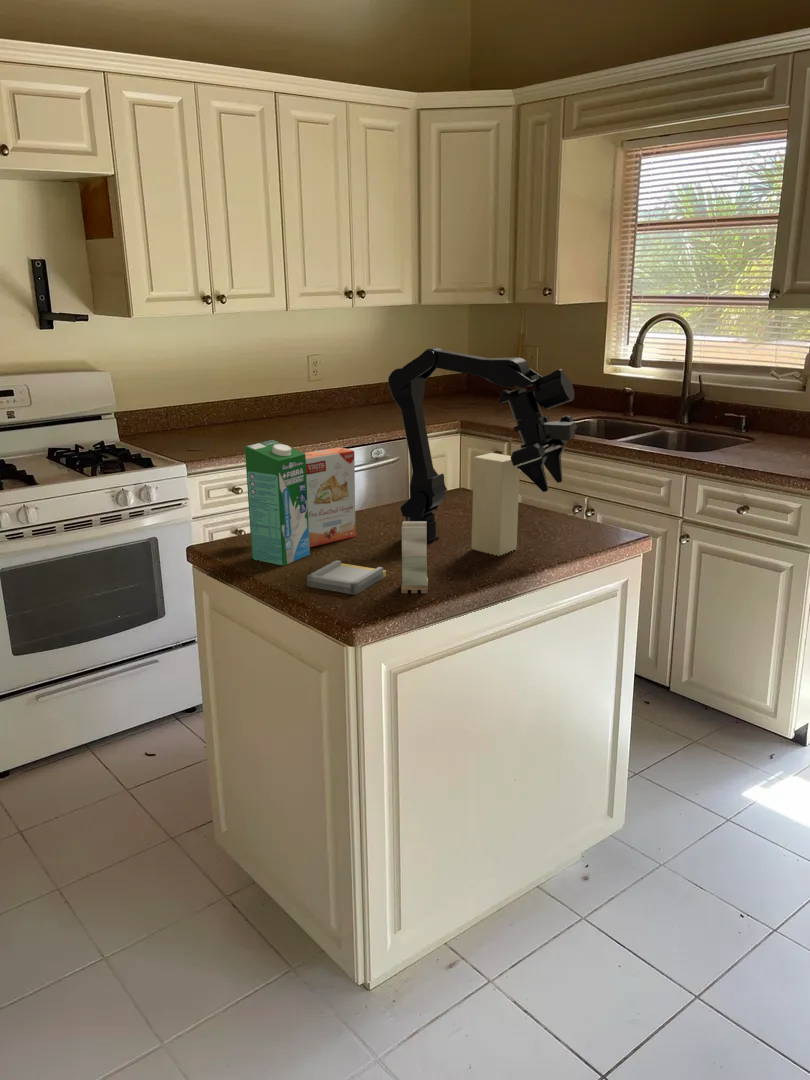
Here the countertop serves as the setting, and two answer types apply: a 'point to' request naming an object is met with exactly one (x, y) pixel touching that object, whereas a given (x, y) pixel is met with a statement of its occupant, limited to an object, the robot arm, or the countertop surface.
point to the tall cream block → (495, 504)
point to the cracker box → (330, 495)
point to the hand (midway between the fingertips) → (553, 486)
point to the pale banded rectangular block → (414, 557)
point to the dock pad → (345, 577)
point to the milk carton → (277, 502)
